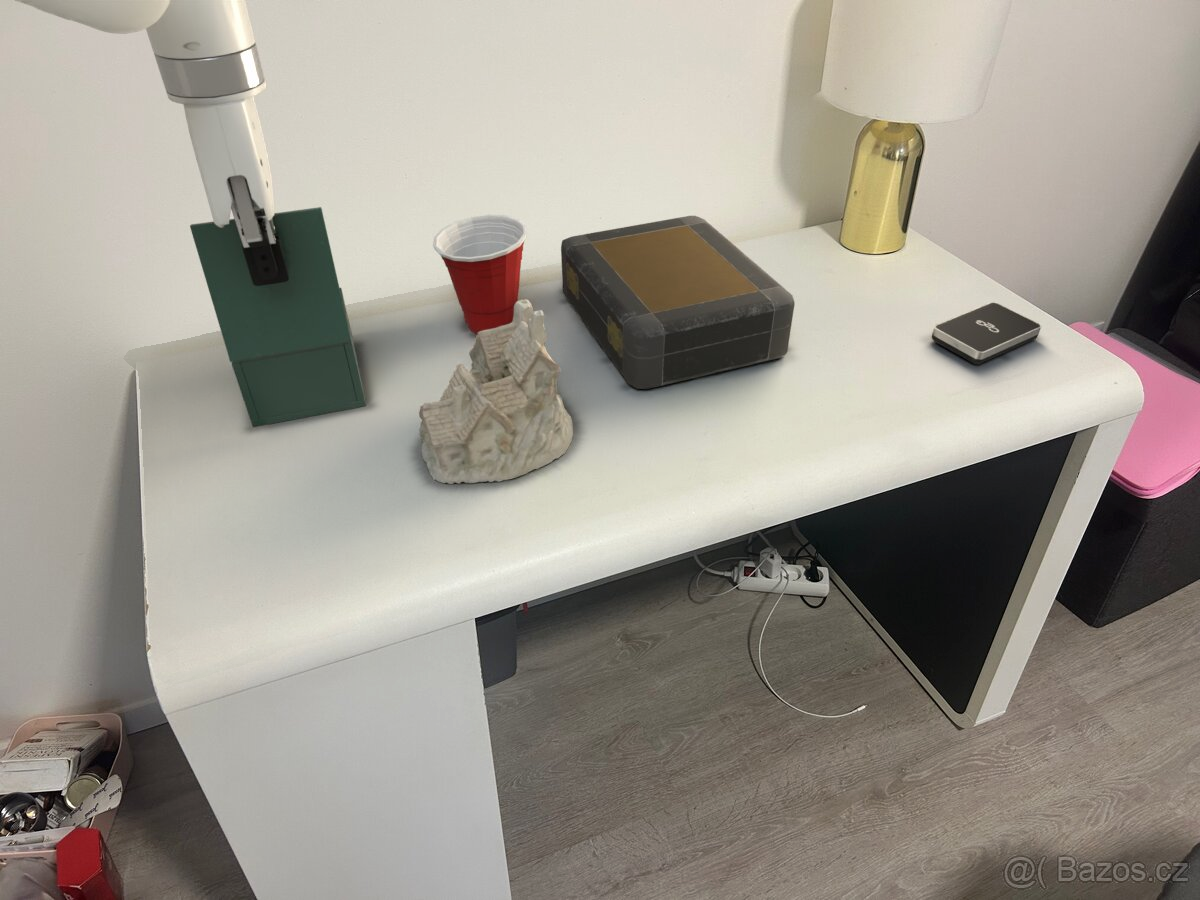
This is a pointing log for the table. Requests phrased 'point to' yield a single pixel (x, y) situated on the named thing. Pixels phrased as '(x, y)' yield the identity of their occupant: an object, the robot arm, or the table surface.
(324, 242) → the lid
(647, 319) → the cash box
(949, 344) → the external hard drive
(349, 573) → the table surface
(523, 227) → the plastic cup
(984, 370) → the table surface
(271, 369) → the tin
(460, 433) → the ceramic cottage
